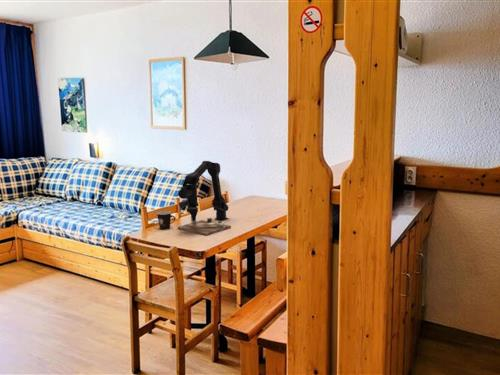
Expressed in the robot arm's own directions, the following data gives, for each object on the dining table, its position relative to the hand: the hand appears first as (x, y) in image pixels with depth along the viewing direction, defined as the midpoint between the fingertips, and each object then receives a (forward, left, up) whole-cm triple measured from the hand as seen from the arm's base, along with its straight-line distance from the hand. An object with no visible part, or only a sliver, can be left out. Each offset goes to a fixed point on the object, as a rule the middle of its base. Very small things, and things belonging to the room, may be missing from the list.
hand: (193, 220), depth 270 cm
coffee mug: (+7, -19, -7) cm, 21 cm away
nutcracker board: (-7, +1, -6) cm, 10 cm away
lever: (-6, +6, -4) cm, 9 cm away
